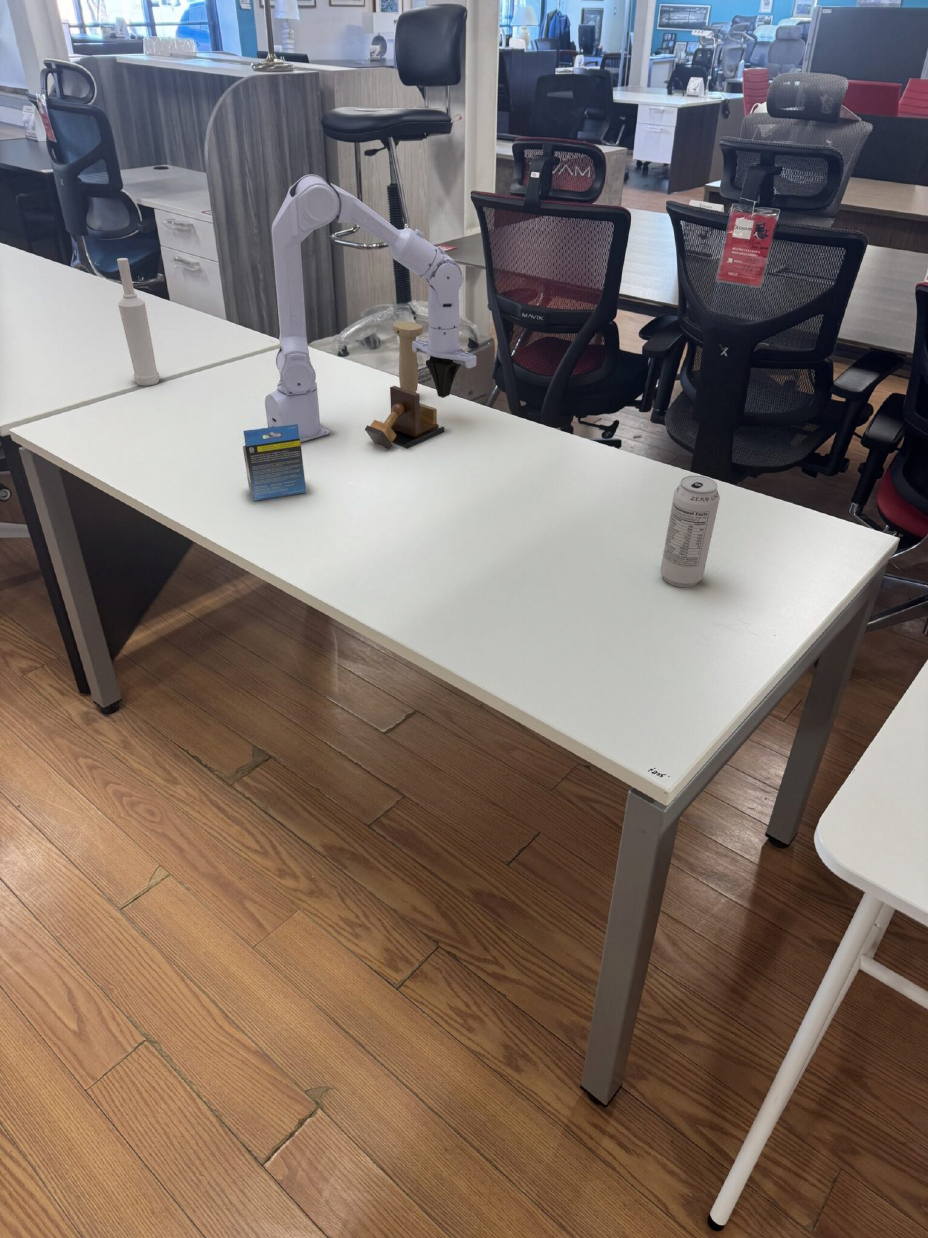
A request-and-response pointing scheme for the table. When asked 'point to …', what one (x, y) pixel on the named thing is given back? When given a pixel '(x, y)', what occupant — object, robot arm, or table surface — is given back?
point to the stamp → (385, 428)
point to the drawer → (412, 413)
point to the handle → (407, 353)
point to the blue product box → (274, 462)
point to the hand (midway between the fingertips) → (443, 395)
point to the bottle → (137, 330)
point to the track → (411, 441)
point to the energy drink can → (690, 531)
